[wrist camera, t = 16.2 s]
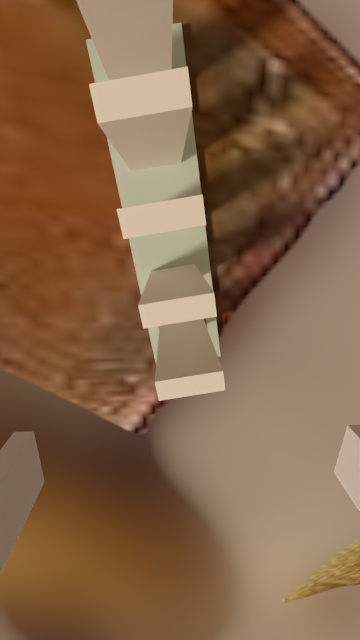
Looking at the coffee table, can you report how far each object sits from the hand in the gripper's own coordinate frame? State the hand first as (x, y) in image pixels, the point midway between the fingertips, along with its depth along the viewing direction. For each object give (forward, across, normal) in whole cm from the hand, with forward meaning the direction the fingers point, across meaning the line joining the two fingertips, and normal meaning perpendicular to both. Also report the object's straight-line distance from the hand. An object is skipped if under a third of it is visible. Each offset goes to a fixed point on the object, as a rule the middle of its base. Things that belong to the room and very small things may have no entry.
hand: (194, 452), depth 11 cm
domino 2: (+27, -3, +16) cm, 32 cm away
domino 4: (+27, 0, +3) cm, 27 cm away
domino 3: (+27, -1, +10) cm, 29 cm away
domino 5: (+27, +1, -4) cm, 27 cm away
